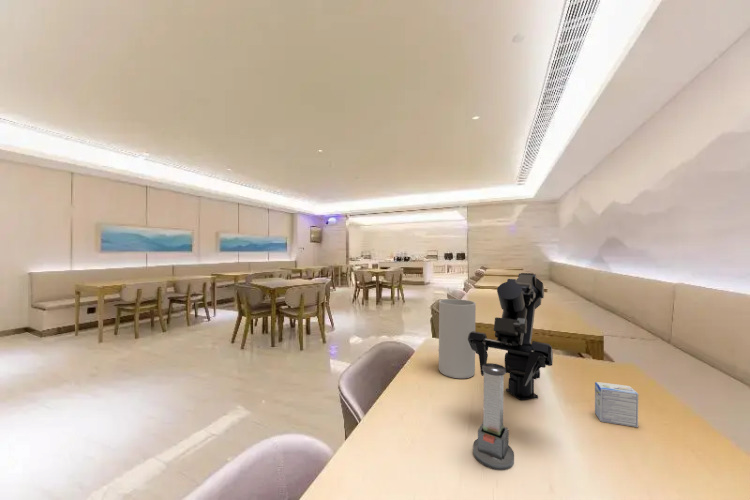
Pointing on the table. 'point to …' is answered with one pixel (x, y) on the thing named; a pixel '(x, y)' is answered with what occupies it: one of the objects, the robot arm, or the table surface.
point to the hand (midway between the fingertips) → (502, 380)
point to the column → (493, 397)
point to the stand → (493, 449)
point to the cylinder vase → (456, 338)
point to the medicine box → (616, 404)
